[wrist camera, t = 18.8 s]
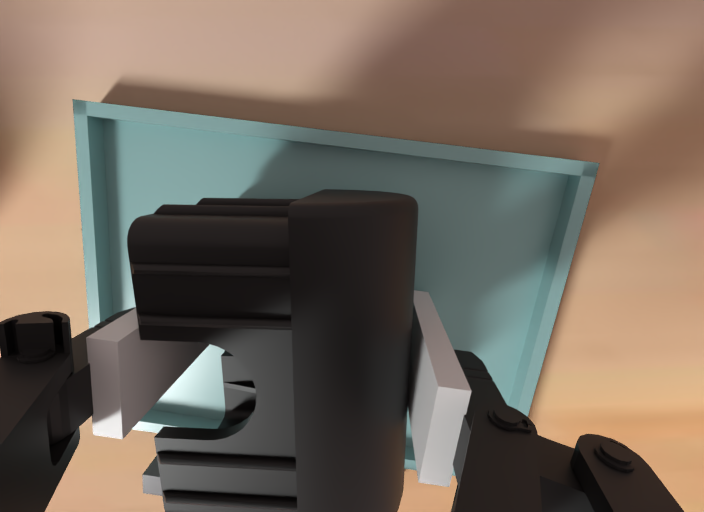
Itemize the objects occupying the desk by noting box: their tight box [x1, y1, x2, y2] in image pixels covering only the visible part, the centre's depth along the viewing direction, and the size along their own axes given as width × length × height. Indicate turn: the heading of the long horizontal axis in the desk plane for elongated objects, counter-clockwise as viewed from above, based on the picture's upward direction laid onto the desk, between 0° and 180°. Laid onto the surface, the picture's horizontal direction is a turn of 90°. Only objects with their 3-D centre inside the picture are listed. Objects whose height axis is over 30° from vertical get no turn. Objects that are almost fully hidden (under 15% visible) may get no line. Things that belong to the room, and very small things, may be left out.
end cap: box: [127, 189, 418, 512], centre depth 12 cm, size 10×7×7 cm
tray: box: [73, 99, 599, 476], centre depth 15 cm, size 19×14×1 cm
